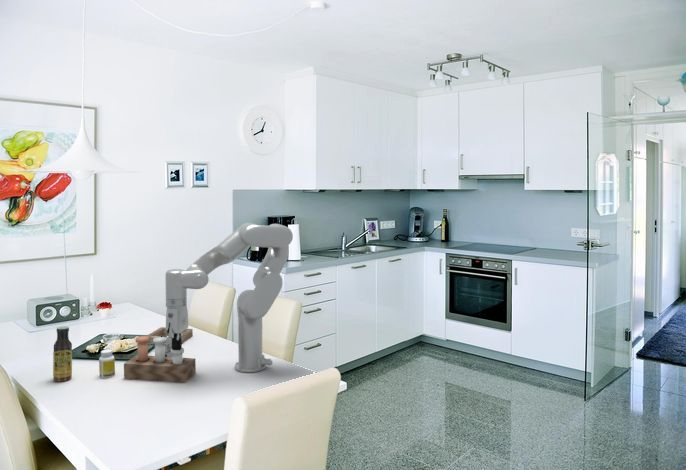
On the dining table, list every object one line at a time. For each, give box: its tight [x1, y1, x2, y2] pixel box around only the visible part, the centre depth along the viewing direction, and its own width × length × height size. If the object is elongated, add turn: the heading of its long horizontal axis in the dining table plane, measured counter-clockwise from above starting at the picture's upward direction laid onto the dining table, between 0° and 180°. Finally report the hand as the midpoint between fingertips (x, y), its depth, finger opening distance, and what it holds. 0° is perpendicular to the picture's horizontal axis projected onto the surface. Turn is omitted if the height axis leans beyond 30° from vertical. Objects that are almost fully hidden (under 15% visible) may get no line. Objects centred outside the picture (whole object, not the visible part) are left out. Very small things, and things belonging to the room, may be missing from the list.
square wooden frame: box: [146, 326, 194, 344], centre depth 245 cm, size 16×16×4 cm
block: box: [123, 354, 197, 384], centre depth 201 cm, size 24×10×6 cm, turn 83°
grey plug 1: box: [153, 336, 166, 363], centre depth 200 cm, size 5×5×10 cm
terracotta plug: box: [135, 335, 149, 362], centre depth 201 cm, size 5×5×10 cm
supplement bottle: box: [98, 348, 116, 379], centre depth 200 cm, size 5×5×10 cm
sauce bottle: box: [52, 325, 73, 383], centre depth 195 cm, size 7×6×20 cm
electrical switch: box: [153, 336, 173, 357], centre depth 221 cm, size 9×5×9 cm, turn 141°
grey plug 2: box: [171, 347, 185, 364], centre depth 200 cm, size 5×5×10 cm
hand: (176, 349), depth 199 cm, fingers closed
